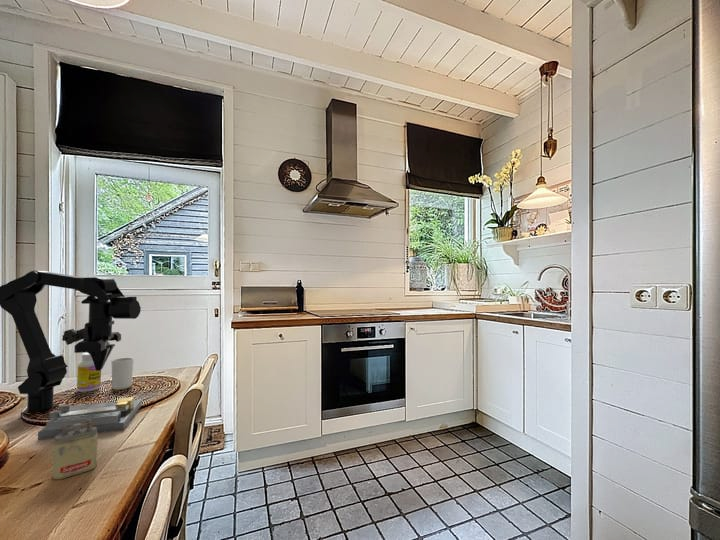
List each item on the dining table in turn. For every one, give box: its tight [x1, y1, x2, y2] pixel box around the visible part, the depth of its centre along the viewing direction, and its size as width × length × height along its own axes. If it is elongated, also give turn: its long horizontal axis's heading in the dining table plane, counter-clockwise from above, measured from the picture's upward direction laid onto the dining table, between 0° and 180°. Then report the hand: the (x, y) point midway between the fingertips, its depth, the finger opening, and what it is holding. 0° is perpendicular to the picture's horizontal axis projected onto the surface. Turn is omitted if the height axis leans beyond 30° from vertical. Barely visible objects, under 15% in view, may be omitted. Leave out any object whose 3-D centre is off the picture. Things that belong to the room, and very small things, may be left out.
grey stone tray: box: [37, 398, 143, 441], centre depth 95 cm, size 18×18×5 cm
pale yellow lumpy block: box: [115, 396, 135, 410], centre depth 98 cm, size 6×4×3 cm, turn 20°
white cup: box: [111, 356, 135, 390], centre depth 125 cm, size 7×7×10 cm
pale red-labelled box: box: [51, 419, 98, 480], centre depth 71 cm, size 7×4×10 cm, turn 134°
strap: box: [61, 404, 129, 418], centre depth 93 cm, size 16×3×1 cm, turn 110°
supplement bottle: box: [76, 352, 102, 393], centre depth 121 cm, size 7×7×13 cm
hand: (99, 370), depth 103 cm, fingers closed
